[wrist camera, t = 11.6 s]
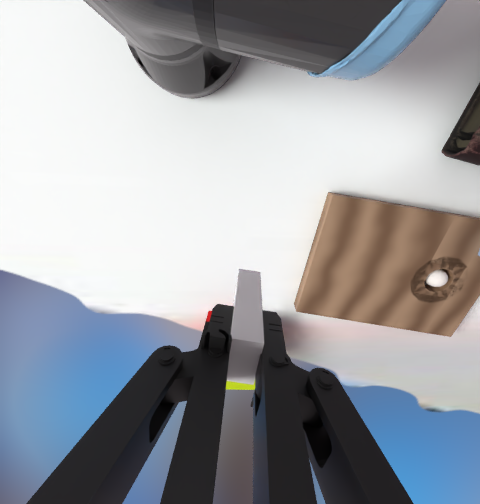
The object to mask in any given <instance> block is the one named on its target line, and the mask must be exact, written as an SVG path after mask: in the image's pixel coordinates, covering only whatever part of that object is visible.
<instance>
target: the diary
mask: <svg viewBox="0 0 480 504" xmlns="http://www.w3.org/2000/svg"><path fill="white" fill-rule="evenodd" d="M442 153H443V154H444V155H445V156H447V157H451V158H454V159H458V160H462V161H465V162H469V163H473V164H476V165H480V83H479V85H478V87H477V88H476V90H475V92H474V94H473V96H472V97H471V99H470V101H469V103H468V104H467V106H466V108H465V110H464V112H463V113H462V115H461V117H460V119H459V121H458V122H457V124H456V126H455V128H454V129H453V131H452V133H451V135H450V137H449V138H448V140H447V142H446V144H445V145H444V147H443V149H442Z"/></svg>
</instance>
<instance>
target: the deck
mask: <svg viewBox="0 0 480 504" xmlns="http://www.w3.org/2000/svg"><path fill="white" fill-rule="evenodd" d="M479 249H480V218H476V217H470V216H464V215H459V214H453V213H447V212H441V211H435V210H429V209H423V208H418V207H412V206H406V205H400V204H394V203H388V202H382V201H377V200H371V199H365V198H359V197H353V196H347V195H341V194H336V193H330V192H328V195H327V198H326V201H325V205H324V208H323V211H322V214H321V218H320V221H319V224H318V227H317V231H316V234H315V237H314V240H313V244H312V247H311V250H310V253H309V257H308V260H307V263H306V267H305V270H304V273H303V276H302V280H301V283H300V286H299V289H298V293H297V296H296V299H295V302H294V305H295V309H296V312H302V313H308V314H314V315H320V316H326V317H333V318H339V319H345V320H351V321H357V322H363V323H369V324H375V325H382V326H388V327H394V328H400V329H406V330H412V331H418V332H424V333H431V334H437V335H443V336H449V337H451V336H452V335H453V333H454V332H455V330H456V329H457V327H458V326H459V324H460V323H461V321H462V320H463V319H464V317H465V316H466V314H467V313H468V311H469V310H470V308H471V307H472V305H473V304H474V303H475V301H476V300H477V298H478V297H479V295H480V256H479V255H478V252H479ZM439 269H442V270H443V271H444V272H445V273H446V274H447V276H448V281H447V283H446V284H445V285H443V286H440V287H434V286H431V285H429V284H427V285H425V283H424V281H425V280H426V278H427V276H428V275H429V274H431V273H432V272H433V271H435V270H439Z"/></svg>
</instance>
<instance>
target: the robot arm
mask: <svg viewBox="0 0 480 504" xmlns="http://www.w3.org/2000/svg"><path fill="white" fill-rule="evenodd" d="M84 1H85V2H86V3H87V4H88V5H89V6H90V7H92V8H93V9H94V10H95V11H96V12H97V13H98V14H99V15H101V16H102V17H103V18H104V19H105V20H106V21H107V22H109V23H110V24H111V25H112V26H113V27H114V28H115V29H116V30H118V31H119V32H120V33H121V34H122V35H123V36H124V37H125V38H126V41H127V43H128V46H129V48H130V50H131V52H132V54H133V56H134V58H135V60H136V61H137V63H138V65H139V66H140V67H141V69H142V70H143V71H144V72H145V74H146V75H147V76H148V77H149V78H150V79H151V80H152V81H154V82H155V83H156V84H157V85H159V86H160V87H162V88H163V89H164V90H166V91H168V92H170V93H172V94H174V95H177V96H180V97H185V98H198V97H203V96H206V95H209V94H211V93H213V92H215V91H216V90H218V89H219V88H220V87H221V86H223V85H224V84H225V83H226V82H227V80H228V79H229V78H230V77H231V75H232V74H233V72H234V70H235V69H236V67H237V65H238V62H239V60H240V57H241V55H243V56H247V57H251V58H255V59H259V60H263V61H267V62H271V63H275V64H279V65H283V66H288V67H292V68H296V69H300V70H304V71H307V72H308V74H309V75H311V76H313V77H324V76H330V77H335V78H340V79H345V80H357V79H360V78H365V77H367V76H370V75H372V74H374V73H376V72H378V71H379V70H381V69H382V68H384V67H385V66H386V65H388V64H389V63H390V62H391V61H393V60H394V59H395V58H396V57H397V56H398V55H399V54H400V53H401V52H402V51H403V50H404V49H405V48H406V47H407V46H408V45H409V44H410V43H411V42H412V41H413V40H414V39H415V38H416V37H417V36H418V34H419V33H420V32H421V31H422V30H423V29H424V28H425V26H426V25H427V24H428V23H429V22H430V21H431V19H432V18H433V17H434V16H435V14H436V13H437V12H438V10H439V9H440V8H441V7H442V5H443V4H444V3H445V2H446V0H84ZM227 381H231V382H238V383H245V384H251V385H254V381H255V391H254V395H253V398H252V402H251V407H253V504H317V501H316V495H315V490H314V484H313V478H312V473H311V467H310V462H311V464H312V467H313V470H314V472H315V475H316V478H317V481H318V483H319V486H320V489H321V492H322V494H323V497H324V500H325V503H326V504H413V502H412V500H411V499H410V497H409V495H408V494H407V492H406V490H405V489H404V487H403V486H402V484H401V483H400V481H399V479H398V477H397V476H396V474H395V473H394V471H393V469H392V467H391V466H390V464H389V463H388V461H387V459H386V458H385V456H384V454H383V453H382V451H381V449H380V448H379V446H378V445H377V443H376V441H375V439H374V438H373V436H372V435H371V433H370V431H369V430H368V428H367V427H366V425H365V423H364V421H363V420H362V418H361V417H360V415H359V413H358V412H357V410H356V409H355V407H354V405H353V403H352V402H351V400H350V398H349V397H348V395H347V394H346V392H345V391H344V389H343V387H342V385H341V384H340V382H339V380H338V379H337V378H336V377H335V375H334V374H332V373H331V372H330V371H328V370H325V369H323V368H315V369H312V371H311V372H308V371H306V370H303V369H301V368H299V367H298V366H295V365H294V364H293V363H292V362H291V359H290V357H289V356H288V355H287V354H286V349H285V342H284V336H283V330H282V324H281V319H280V317H279V316H278V314H277V313H276V312H270V311H263V310H262V295H261V277H260V272H256V271H250V270H243V269H239V273H238V279H237V285H236V291H235V297H234V304H233V306H228V305H221V304H217V305H216V306H215V307H214V308H213V310H212V314H211V317H210V322H209V325H208V329H207V330H206V331H204V333H203V335H202V344H201V347H199V348H198V349H196V350H194V351H189V352H181V351H180V349H178V348H177V347H175V346H170V345H169V346H163V347H160V348H158V349H157V350H156V351H154V352H153V353H152V355H151V356H150V357H149V358H148V359H147V361H146V362H145V363H144V364H143V365H142V367H141V368H140V369H139V370H138V371H137V373H136V374H135V375H134V376H133V378H131V380H130V381H129V382H128V383H127V384H126V386H125V387H124V388H123V389H122V390H121V392H120V393H119V394H118V395H117V396H116V398H115V399H114V400H113V401H112V402H111V404H110V405H109V406H108V407H107V408H106V409H105V411H104V412H103V413H102V414H101V416H100V417H99V418H98V419H97V420H96V421H95V423H94V424H93V425H92V426H91V427H90V429H89V430H88V431H87V432H86V433H85V434H84V436H83V437H82V438H81V439H80V440H79V442H78V443H77V444H76V445H75V446H74V448H73V449H72V450H71V451H70V453H68V455H67V456H66V457H65V458H64V459H63V461H62V462H61V463H60V464H59V465H58V467H57V468H56V469H55V470H54V471H53V473H52V474H51V475H50V476H49V477H48V479H47V480H46V481H45V482H44V483H43V485H42V486H41V487H40V488H39V489H38V491H37V492H36V493H35V494H34V495H33V496H32V498H31V499H30V500H29V501H28V503H27V504H122V503H123V501H124V499H125V498H126V496H127V494H128V492H129V490H130V489H131V487H132V485H133V483H134V482H135V480H136V478H137V476H138V474H139V473H140V471H141V469H142V467H143V466H144V464H145V462H146V460H147V458H148V456H149V455H150V453H151V451H152V449H153V447H154V446H155V444H156V442H157V441H158V439H159V437H160V435H161V433H162V432H163V430H164V428H165V426H166V424H167V423H168V421H169V419H170V417H171V415H172V414H173V412H174V410H175V408H176V406H177V405H178V403H179V402H182V401H187V404H186V408H185V411H184V415H183V419H182V423H181V426H180V430H179V434H178V438H177V442H176V445H175V450H174V453H173V457H172V461H171V464H170V468H169V473H168V476H167V480H166V484H165V487H164V491H163V495H162V499H161V503H160V504H212V503H213V494H214V486H215V477H216V469H217V460H218V451H219V442H220V434H221V425H222V416H223V408H224V399H225V390H226V382H227ZM309 459H310V462H309Z"/></svg>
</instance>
